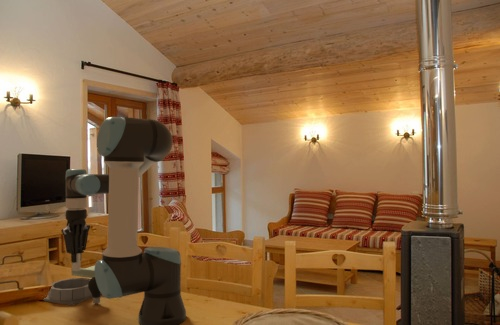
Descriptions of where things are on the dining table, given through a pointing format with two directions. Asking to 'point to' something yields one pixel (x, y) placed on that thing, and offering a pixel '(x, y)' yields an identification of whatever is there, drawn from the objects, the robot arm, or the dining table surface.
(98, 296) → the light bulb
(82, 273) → the pale green square board
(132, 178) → the robot arm
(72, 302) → the holder
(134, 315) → the dining table surface
